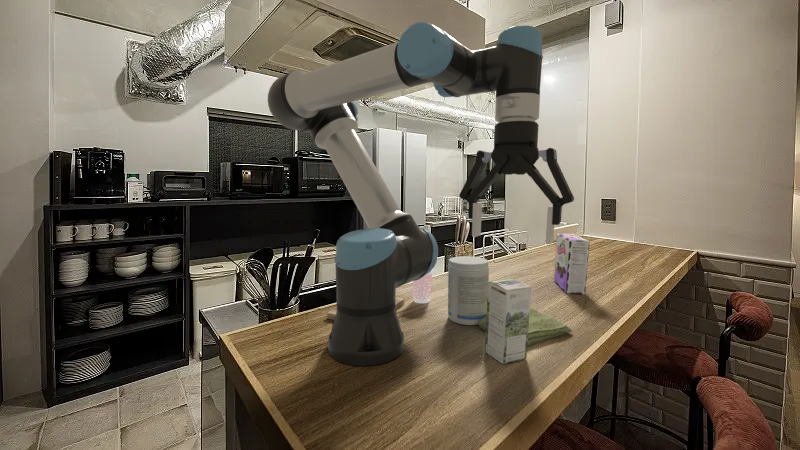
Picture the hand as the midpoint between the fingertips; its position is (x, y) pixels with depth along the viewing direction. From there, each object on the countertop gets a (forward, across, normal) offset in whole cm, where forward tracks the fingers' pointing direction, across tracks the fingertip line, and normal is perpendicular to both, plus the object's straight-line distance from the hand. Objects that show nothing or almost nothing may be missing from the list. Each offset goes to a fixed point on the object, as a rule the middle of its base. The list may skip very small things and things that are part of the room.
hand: (510, 239), depth 68 cm
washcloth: (+23, 0, +14) cm, 27 cm away
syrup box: (+23, 0, 0) cm, 23 cm away
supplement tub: (+23, -14, +13) cm, 30 cm away
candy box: (+23, +3, +55) cm, 60 cm away
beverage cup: (+23, -29, +18) cm, 42 cm away
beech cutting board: (+23, -37, +4) cm, 43 cm away
